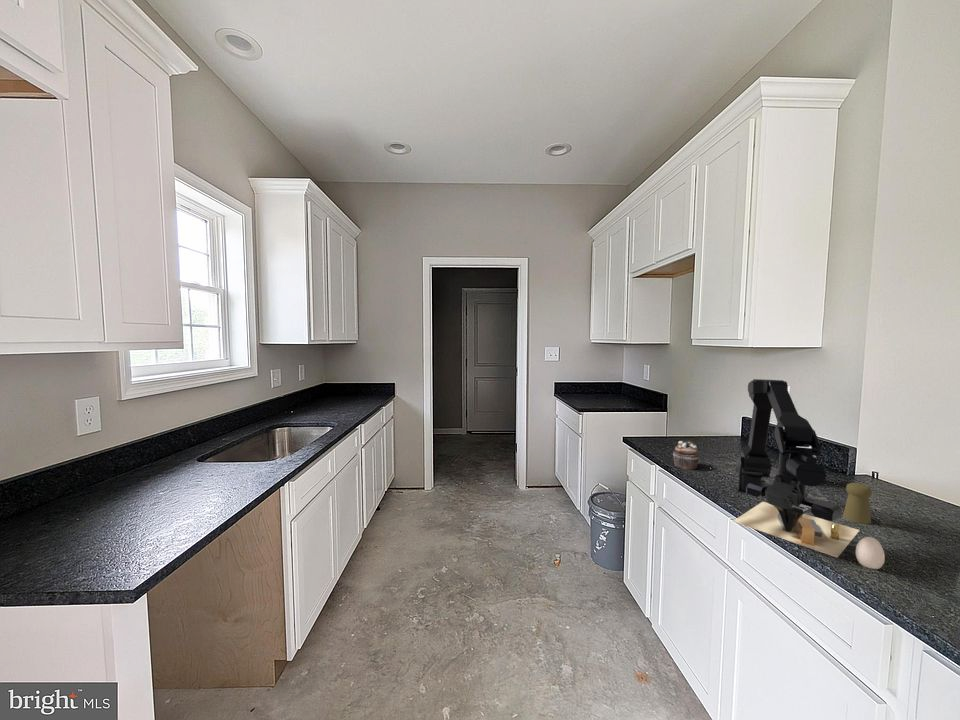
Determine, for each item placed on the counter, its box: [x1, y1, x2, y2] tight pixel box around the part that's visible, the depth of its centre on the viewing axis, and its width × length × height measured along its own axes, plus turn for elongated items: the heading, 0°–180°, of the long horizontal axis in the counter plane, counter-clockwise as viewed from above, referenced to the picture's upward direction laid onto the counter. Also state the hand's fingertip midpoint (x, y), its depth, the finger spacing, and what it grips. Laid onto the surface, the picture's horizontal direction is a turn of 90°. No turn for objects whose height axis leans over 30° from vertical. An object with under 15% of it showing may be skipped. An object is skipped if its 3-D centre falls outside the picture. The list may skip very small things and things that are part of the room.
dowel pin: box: [830, 522, 840, 540], centre depth 100 cm, size 2×2×4 cm
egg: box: [855, 536, 886, 570], centre depth 88 cm, size 5×5×7 cm
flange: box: [777, 513, 822, 545], centre depth 103 cm, size 14×8×4 cm, turn 151°
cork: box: [842, 482, 873, 525], centre depth 110 cm, size 6×6×11 cm
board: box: [732, 501, 860, 558], centre depth 107 cm, size 22×22×5 cm
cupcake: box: [672, 439, 701, 470], centre depth 158 cm, size 10×10×10 cm
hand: (788, 531), depth 101 cm, fingers closed
